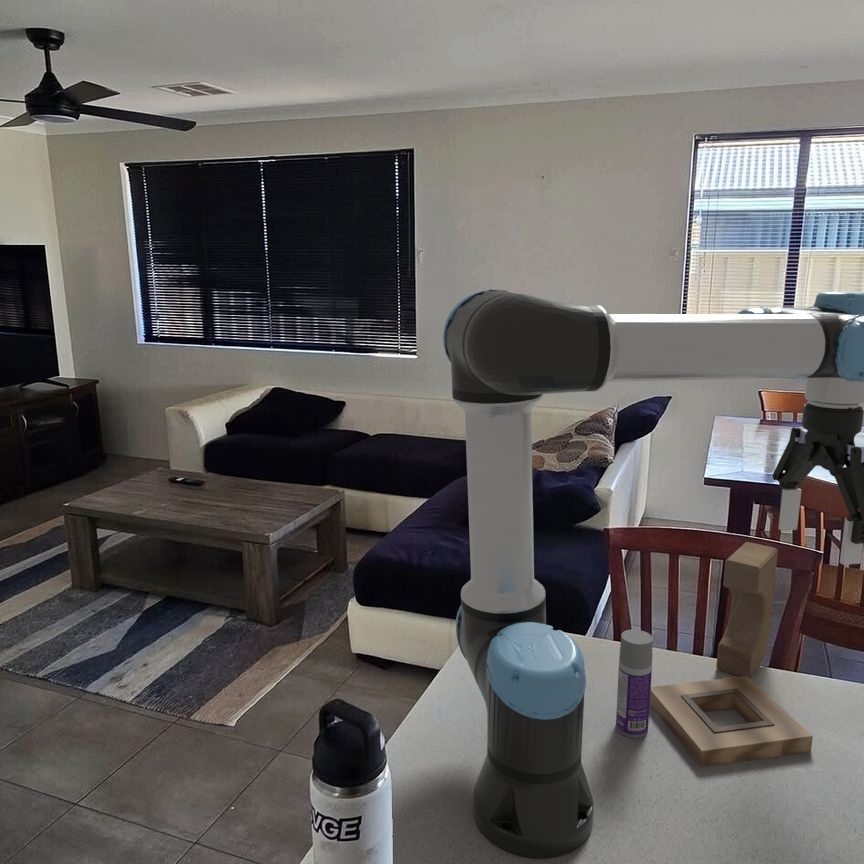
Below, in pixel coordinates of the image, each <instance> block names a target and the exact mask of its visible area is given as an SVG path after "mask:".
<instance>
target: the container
mask: <svg viewBox="0 0 864 864" xmlns="http://www.w3.org/2000/svg"><path fill="white" fill-rule="evenodd" d="M620 635H621V636H620V645H619V646H620V649H619V658H618V674H617V675H618V676H617V693H616V694H617V695H616V714H615V715H616V717H615V728H616V730H617V732H618V733H619V734H621V735H623V736H625V737H628V738H633V739H637V738H643V737H645V736H646V735H647V734H648V732H649V719H650V706H651V705H650V691H651V687H652V674H653V645H654V644H653V642H654V638H653V636H652V635H651V633H649V632H646V631H643V630H641V629H627V630H624V631H623V632H622V633H621V634H620Z"/></svg>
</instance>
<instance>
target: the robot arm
mask: <svg viewBox="0 0 864 864" xmlns="http://www.w3.org/2000/svg"><path fill="white" fill-rule="evenodd" d="M443 327H444V328H443V333H442V335H443V336H442V338H443V339H442V340H443V348H444V353H445V354H446V358H447V359H448V361H449V362H450V368H451V369H450V370H451V391H452V401H453V402H454V403H455V404H456V405H458V407H459V408H461V409H462V410H463V411H464V425H465V445H466V447H465V448H466V449H465V450H466V471H467V473H466V476H467V478H466V479H467V497H468V498H467V500H468V501H467V503H468V527H469V528H468V529H469V530H468V532H469V554H470V580H468V581H467V582H466V583H465V584H464V585H463V586H462V588H461V591H460V606H459V608H458V610H457V613H456V619H455V633H456V640H457V643H458V644H457V645H458V647H459V650H460V652H461V654H462V656H463V657H464V659H465V660H466V662H467V664H468V666H469V668H470V671H471V673H472V676H473V678H474V680H475V682H476V684H477V687H478V689H479V691H480V693H481V696H482V698H483V700H484V703H485V707H486V715H487V718H486V723H487V725H486V732H487V733H486V745H487V746H486V747H487V748H486V756H485V759H484V762H483V763H482V766H481V768H480V771H479V774H478V777H477V779H476V782H475V785H474V787H473V793H472V815H473V818H474V822H475V824H476V827H477V828H478V830H479V831H480V833H482V834H483V836H484V837H485V838H486V839H487V840H488V841H490V842H491V843H492V844H493V845H495V846H497V847H499V848H500V849H502V850H505V851H506V852H508V853H512V854H514V855H517V856H523V857H529V858H536V859H537V858H538V859H539V858H540V859H542V858H552V857H556V856H561V855H565V854H568V853H570V852H572V851H574V850H576V849H577V848H578V847H579V846H581V845H582V844H584V842H585V841H586V840H587V838H589V836H590V835H591V834H590V833H591V832H592V829H593V827H594V826H593V825H594V810H595V809H594V808H595V806H594V804H595V803H594V798H593V795H592V791H591V788H590V786H589V783H588V779H587V776H586V773H585V770H584V767H583V763H582V750H583V730H584V727H583V725H584V711H585V707H584V706H585V692H586V686H587V675H586V670H585V659H584V655H583V653H582V650H581V648H580V646H579V645H578V643H577V642H576V641H575V640H574V639H573V638H572V637H571V636H570V635H568V634H567V633H566V632H565V631H563V630H561V629H557V630H554V627H553V626H552V625H549V624H547V614H546V613H547V611H546V610H547V608H546V604H547V603H546V602H547V601H546V589H545V587H544V586H543V584H541V583H540V582H539V581H538V580H537V579H535V569H534V568H535V564H534V561H535V557H534V554H535V553H534V551H535V550H534V507H533V506H534V505H533V504H534V503H533V501H534V499H533V449H532V448H533V445H532V444H533V443H532V409H533V408H534V407H535V406H536V405H537V403H539V402H540V401H541V400H542V398H543V397H544V395H546V394H547V395H548V394H561V393H562V394H563V393H580V392H597V391H600V390H602V389H603V387H605V385H607V383H614V382H615V383H617V382H618V383H619V382H621V383H623V382H624V383H625V382H652V381H653V382H656V381H657V382H658V381H659V382H660V381H661V382H662V381H663V382H664V381H665V382H666V381H703V380H704V381H705V380H707V381H708V380H742V379H743V380H745V379H746V380H747V379H789V378H790V379H791V378H795V379H796V378H806V379H805V380H806V382H805V390H804V398H805V400H807V402H806V403H804V405H803V412H802V420H801V426H799V427H798V426H796V427H792V428H791V430H790V435H789V439H788V443H787V444H786V445H785V446H786V447H785V448H784V450H783V452H782V454H781V457H780V459H779V461H778V462H777V464H776V467H775V469H774V471H773V473H772V480H773V481H777V482H778V483H779V487H780V488H781V489H780V498H779V499H780V500H779V505H780V506H779V507H780V512H779V519H778V530H780V531H781V532H783V531H784V532H786V531H796V530H798V525H799V516H800V515H799V514H800V507H801V506H800V505H801V498H802V489H801V488H799V487H802V484H801V483H802V482H803V481H804V479H806V477H808V475H809V474H810V473H811V472H812V471H813V470H814V468H815V467H816V466H817V467H821V468H823V469H824V470H826V471H828V472H829V475H831V476H833V477H834V479H835V481H836V483H837V487H838V489H839V491H840V494H841V496H842V499H843V502H844V504H845V507H846V509H847V511H848V514H849V516H848V517H845V518H844V524H843V525H844V526H843V531H842V532H843V533H842V541H841V542H842V543H841V549H840V557H839V563H840V564H841V565H843V566H845V565H858V564H859V565H860V564H862V558H863V551H864V446H857V445H856V443H855V437H856V436H857V435H858V434H859V433H860V432H861V431H862V429H863V420H864V408H863V406H861V405H862V404H863V403H864V291H863V292H861V291H821V292H819V293H818V294H817V295H816V297H815V302H814V303H813V306H809V307H764V306H760V307H757V308H755V307H754V308H745V309H742V310H740V311H738V312H737V313H736V314H735V313H734V314H733V313H732V314H730V313H729V314H728V313H727V314H726V313H725V314H724V313H723V314H722V313H721V314H720V313H715V314H713V313H711V314H710V313H706V314H705V313H703V314H701V313H697V314H696V313H694V314H693V313H691V314H690V313H688V314H686V313H684V314H680V313H679V314H678V313H677V314H676V313H672V314H668V313H667V314H665V313H663V314H662V313H658V314H656V313H639V314H638V313H635V314H633V313H631V314H630V313H628V314H625V313H624V314H623V313H622V314H621V313H620V314H619V313H617V314H616V313H614V314H611V313H610V314H609V313H608V312H607V310H606V309H605V308H604V307H603V306H602V305H598V304H572V303H568V302H567V303H566V302H558V301H555V300H550V299H545V298H539V297H536V296H532V295H529V294H523V293H515V292H510V291H507V290H504V289H501V290H500V289H492V288H491V289H489V290H481V291H478V292H475V293H471V294H470V295H468V296H466V297H465V298H462V299H461V300H460V301H459V302H458V303H457V304H456V305H455V306H454V307H453V309H452V310H451V311H450V313H449V314H448V316H447V318H446V320H445V324H444V326H443ZM858 509H859V510H858Z"/></svg>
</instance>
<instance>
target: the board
mask: <svg viewBox="0 0 864 864" xmlns="http://www.w3.org/2000/svg"><path fill="white" fill-rule="evenodd" d="M650 706H651V707H652V709H654V712H656V714H657V715H658V716H659V718H660V719H661V720H662V722H664V723H665V725H666V726H667V728H669V730H670V731H671V733H672V734H674V736H675V737H676V739H678V740H679V742H680V743H681V744H682V746H683V747H684V749H686V750H687V752H688V753H689V755H690V756H691V757H692V758H693V759H694V760H695V763H697V764H698V766H700V767H703V768H704V767H708V766H709V767H710V766H716V765H724V764H730V763H731V764H733V763H737V762H746V761H752V760H759V759H767V758H774V757H781V756H787V755H788V756H789V755H796V754H801V753H809V752H812V745H813V736H814V735H812V734H811V733H810V732H809V731H808V730H807V729H806V728H805V727H803V726H802V725H801V724H800V723H799V722H798V721H797V720H796V719H795V718H794V717H792V715H790V714H789V713H788V712H787V711H786V710H785V709H784V708H783V707H781V706H780V705H779V704H778V703H777V702H776V701H775V700H774V699H773V698H772V697H771V696H770V695H768V694H767V692H765V691H764V690H763V689H762V688H761V687H759V686H758V685H757V684H756V683H755V682H754V681H753V680H752V679H751V677H750V678H748V677H747V676H742V677H739V676H736V677H727V678H725V677H724V678H717V679H709V680H702V681H700V680H699V681H692V682H691V681H690V682H682V683H676V684H675V683H674V684H668V685H667V684H666V685H656V686H651V691H650ZM727 709H728V710H730V709H734V710H735V711H736V712H737V713H738V714H739V715H740V716H741V717H742V718H743V719H744V720H745V722H746V723H739V724H731V725H730V724H729V725H723V726H717V725H716V724H715V723H714V722H713V721H712V720H711V718H709V717H708V716H707V715H706V714H705V712H712V711H714V712H715V711H721V710H727Z"/></svg>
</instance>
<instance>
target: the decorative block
mask: <svg viewBox="0 0 864 864" xmlns="http://www.w3.org/2000/svg"><path fill="white" fill-rule="evenodd" d="M778 552H779V551H778V549H777V548H776V547H773V546H768V545H764V544H759V543H754V542H749V541H746V542H744V543H743V544H742V545H741V546H740V547H739V548H738V549H737V550H736V551H734V553H732V554H731V555H730V556H729V557H728V558H727V559H726V560H724V571H723V584H722V585H723V587H724V588H727V589H730V592H731V605H730V612H729V616H728V621H727V624H726V628H725V630H724V633H723V635H722V638H721V639H720V642H719V643H718V645H717V656H716V669H717V670H718V671H720V672H724V673H728V674H730V675H734V676H736V677H742V676H747V677H748V678H750V679H751V677H752V675H753V674H754V672H755V671H756V670H757V668H758V667H759V666H760V664H761V663H762V661H764V659H765V658H766V656H767V655H768V652H769V651H768V650H769V641H770V634H771V633H770V632H771V625H772V615H773V614H772V612H773V603H774V592H775V583H776V582H775V581H776V573H777V572H776V571H777V563H778V555H779V554H778Z"/></svg>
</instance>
